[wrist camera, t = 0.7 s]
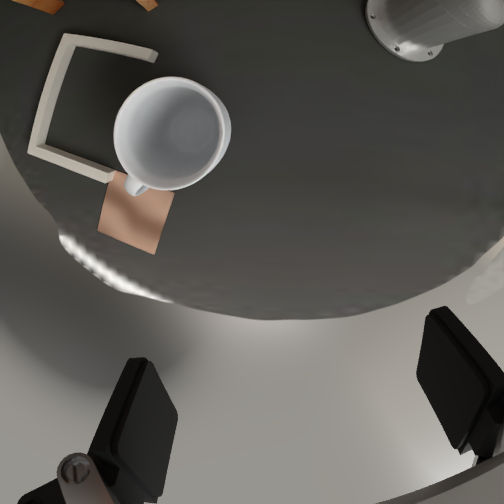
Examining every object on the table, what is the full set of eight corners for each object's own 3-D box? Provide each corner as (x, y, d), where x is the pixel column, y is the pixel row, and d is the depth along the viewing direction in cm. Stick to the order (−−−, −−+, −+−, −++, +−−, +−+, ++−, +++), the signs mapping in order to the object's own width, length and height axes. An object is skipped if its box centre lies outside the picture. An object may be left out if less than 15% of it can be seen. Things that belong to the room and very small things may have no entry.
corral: (72, 36, 32) (64, 33, 29) (158, 53, 34) (152, 49, 32) (36, 150, 39) (27, 153, 36) (112, 179, 41) (105, 183, 39)
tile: (112, 169, 40) (112, 169, 40) (174, 193, 42) (174, 193, 41) (97, 230, 44) (97, 230, 44) (154, 254, 45) (154, 254, 45)
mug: (179, 207, 42) (149, 242, 30) (122, 157, 40) (73, 174, 28) (253, 126, 38) (251, 127, 26) (191, 73, 35) (162, 53, 23)
